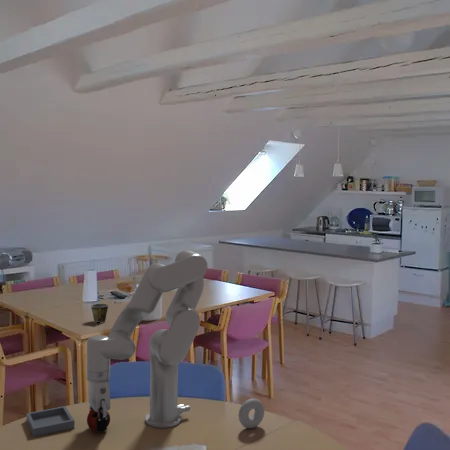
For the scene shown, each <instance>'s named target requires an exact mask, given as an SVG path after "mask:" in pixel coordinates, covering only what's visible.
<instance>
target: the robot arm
mask: <svg viewBox="0 0 450 450" xmlns="http://www.w3.org/2000/svg"><path fill="white" fill-rule="evenodd" d="M208 268H209V266H208V261H207V259H206V258H205V257H204V256H203V255H202V254H200V253H197V252H194V251H192V250H187V249H185V250H182V251H181V250H180V251H179V252H178V253H177V254H176V256H175V259H174V262H173V263H170V264H166V265H165V264H163V263H158V262H157V263H156V262H155V263H152V264H150V265H149V266H148V267H147V268H146V270H145V272H144V274H143V276H142V277H141V280H140V281H139V284H137V285H138V287H137V289H136V288H135V291H134V294H133V295H132V297H131V299H130V301H129V302H128V303H127V304H126V305H125V307H124V308H123V309H122V311H121V312H120V314H119V315H118V316H117V318H116V320H115V322H114V324H113V325H112V328H111V329H110V331H109V334H108V336H107V335H103V334H102V335H101V334H99V335H97V334H96V335H93V336H90V337H89V338H88V339H87V341H86V381H88V388H87V389H88V390H87V393H88V395H87V399H88V403H89V407H88V409H89V412H90V410H91V409H92V408H93V409H94V411H96V412H97V417H98V420H97V432H96V433H103V432H107V430H108V427H107V413H109V410H111V395H110V394H111V391H110V390H111V388H110V381H109V380H110V379H111V360H121V361H122V360H129V359H130V358H132V357H133V356H134V354H135V352H136V344H135V342H134V340H133V339H132V335H133V333H134V332H135V329H136V328H137V326H138V324H139V323H140V322H141V321H143V320H142V319H143V318H145V317H147V316H149V315H150V314H152V313H153V311H154V309H155V307H156V305H157V303H158V301H159V299H160V297H161V295H162V296H163V293H168V292H171V291H174V290H176V292H175V294H174V296H173V298H172V300H171V302H170V304H169V305H168V307H167V310H166V311H165V316H164V317H165V321H166V324H167V325H168V326H169V328H168V329H166V328H163V329H162V328H161V329H158V330H156V331H154V333H153V334H152V335H151V336H150V338H149V342H148V351H149V353H148V354H149V366H150V367H149V368H150V370H149V371H150V373H149V374H150V375H149V387H150V388H149V413H146V415H145V417H144V422H145V424H146V425H148V426H150V427H153V428H158V429H165V428H167V429H168V428H172V427H175V426H177V425H179V424H180V423H181V422H182V420H183V419H182V417H183V416H182V414H183V413H188V412H191V406H190V405H184V404H179V405H178V399H179V398H178V395H179V394H178V393H179V392H178V391H179V390H178V388H179V384H178V382H179V381H178V380H179V365H180V364H181V363H182V362H183V361H184V360H185V358H186V356H187V355H188V353H189V350H190V348H191V346H192V344H193V343H194V340H195V338H196V336H197V334H198V332H199V329H200V327H201V326H200V324H201V318H200V314H199V313H198V311H197V310H196V308H197V306H198V303H199V302H200V300H201V298H202V297H201V296H202V294H203V290H204V285H205V280H204V279H205V278H204V276H205V275H206V273H207V272H208ZM100 408H102V410H99V409H100ZM89 412H88V413H89ZM100 412H102V414H101V415H100Z"/></svg>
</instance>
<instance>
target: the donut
mask: <svg viewBox="0 0 450 450" xmlns="http://www.w3.org/2000/svg"><path fill="white" fill-rule="evenodd" d="M252 410H254V412H253V413H254V414H253V415H252V416H251V417H249V413H250V412H251V411H252ZM265 412H266V411H265V406H264V404H263V402H261V400H259V398H258V399H257V398H253V397H252V398H249V399H247V400H245V401H244V402H243V403H242V404H241V406H240V408H239V410H238V421H239V423H240V425H242V427H244V428H245V429H246V428H247V429H253V428H256V427H258V426H259V425H260V424H261V423H262V421H263V419H264V417H265Z"/></svg>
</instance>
